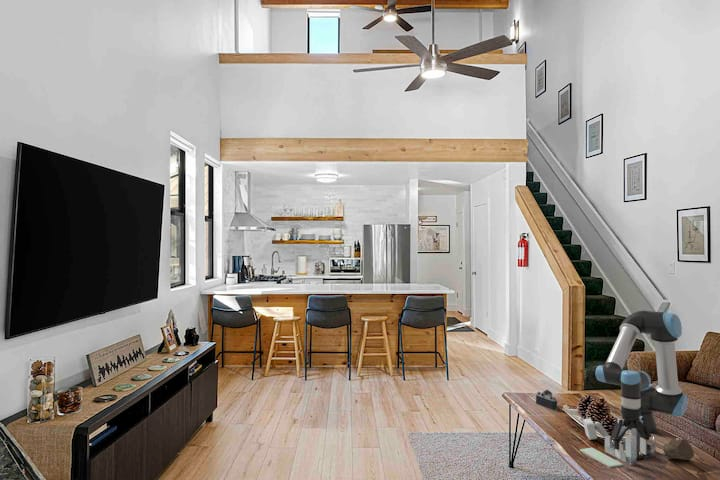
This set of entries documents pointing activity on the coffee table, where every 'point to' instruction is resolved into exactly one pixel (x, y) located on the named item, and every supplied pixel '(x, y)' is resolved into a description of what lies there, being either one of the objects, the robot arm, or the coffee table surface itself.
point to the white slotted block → (630, 449)
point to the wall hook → (593, 429)
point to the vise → (638, 436)
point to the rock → (678, 449)
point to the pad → (601, 457)
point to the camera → (546, 400)
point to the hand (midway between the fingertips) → (630, 455)
